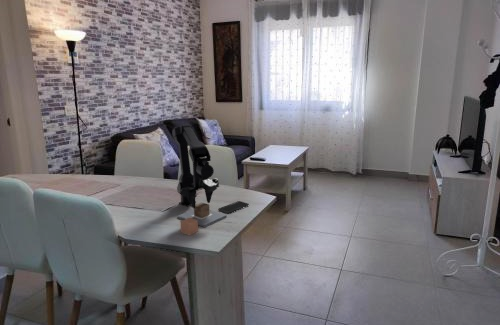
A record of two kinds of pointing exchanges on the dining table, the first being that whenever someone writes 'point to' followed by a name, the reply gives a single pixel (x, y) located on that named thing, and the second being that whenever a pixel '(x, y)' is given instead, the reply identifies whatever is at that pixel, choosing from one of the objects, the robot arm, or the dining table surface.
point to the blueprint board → (205, 220)
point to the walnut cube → (201, 210)
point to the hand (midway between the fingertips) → (201, 205)
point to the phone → (233, 207)
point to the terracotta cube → (189, 226)
